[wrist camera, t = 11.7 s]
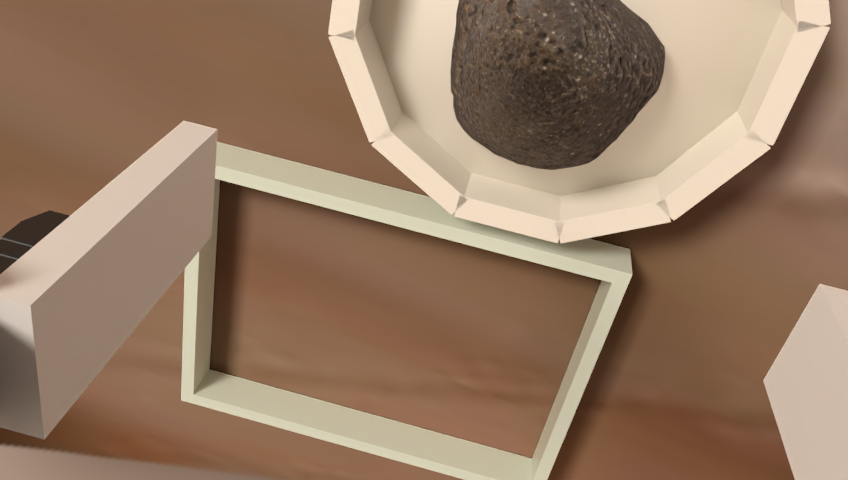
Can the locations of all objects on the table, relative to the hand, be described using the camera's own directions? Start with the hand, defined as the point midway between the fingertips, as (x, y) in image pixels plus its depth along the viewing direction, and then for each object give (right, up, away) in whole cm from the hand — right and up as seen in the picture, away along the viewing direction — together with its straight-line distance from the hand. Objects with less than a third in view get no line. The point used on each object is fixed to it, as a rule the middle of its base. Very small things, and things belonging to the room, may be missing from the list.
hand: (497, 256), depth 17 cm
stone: (+4, +9, +19) cm, 21 cm away
